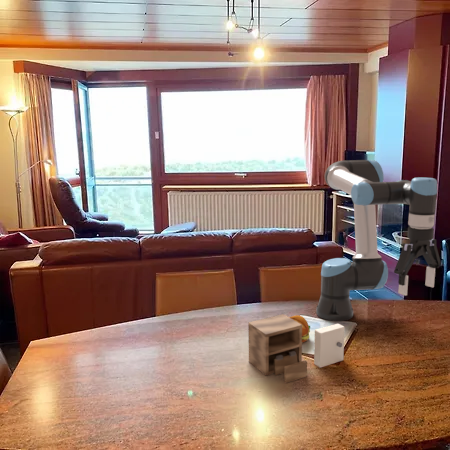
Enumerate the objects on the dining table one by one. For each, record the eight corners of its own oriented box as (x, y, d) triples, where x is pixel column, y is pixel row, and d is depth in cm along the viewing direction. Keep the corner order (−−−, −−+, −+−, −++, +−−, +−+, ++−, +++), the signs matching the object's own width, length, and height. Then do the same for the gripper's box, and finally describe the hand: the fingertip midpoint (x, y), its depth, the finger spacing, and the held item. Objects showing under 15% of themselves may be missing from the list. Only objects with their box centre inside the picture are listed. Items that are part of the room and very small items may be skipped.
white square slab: (314, 363, 147) (314, 329, 145) (337, 356, 152) (338, 323, 149) (322, 369, 143) (323, 334, 141) (345, 361, 148) (347, 328, 146)
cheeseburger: (308, 331, 171) (310, 310, 166) (311, 350, 161) (312, 328, 157) (282, 330, 172) (283, 309, 167) (283, 349, 162) (283, 327, 158)
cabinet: (248, 361, 149) (248, 322, 147) (283, 351, 156) (283, 313, 153) (277, 385, 134) (278, 342, 132) (314, 373, 141) (315, 332, 138)
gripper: (405, 233, 132) (400, 301, 136) (455, 224, 144) (450, 286, 148) (384, 229, 138) (381, 294, 142) (434, 220, 150) (430, 280, 155)
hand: (416, 290), depth 145 cm, fingers open, 13 cm apart
